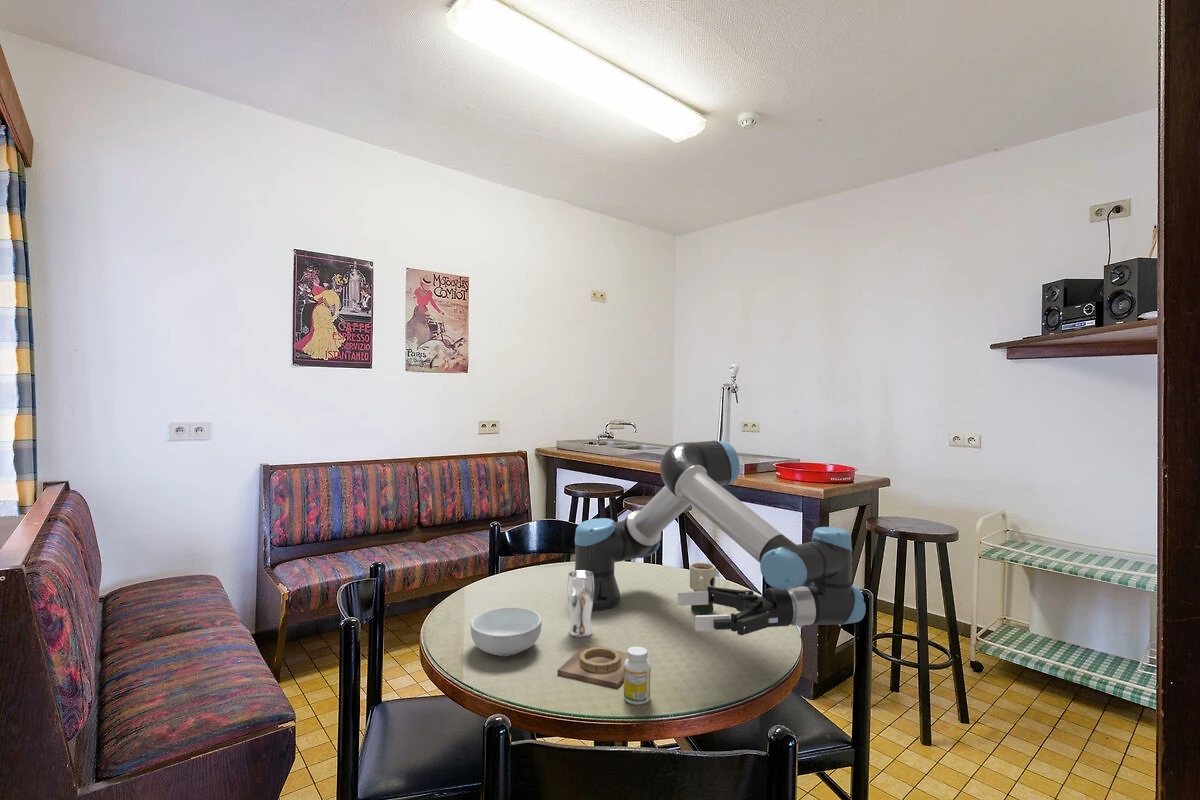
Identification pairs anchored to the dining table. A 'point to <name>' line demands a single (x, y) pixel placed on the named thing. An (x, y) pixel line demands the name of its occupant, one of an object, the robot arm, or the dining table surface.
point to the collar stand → (596, 666)
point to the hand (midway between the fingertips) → (686, 610)
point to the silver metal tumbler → (580, 602)
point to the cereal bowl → (506, 630)
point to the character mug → (702, 583)
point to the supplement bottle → (637, 676)
